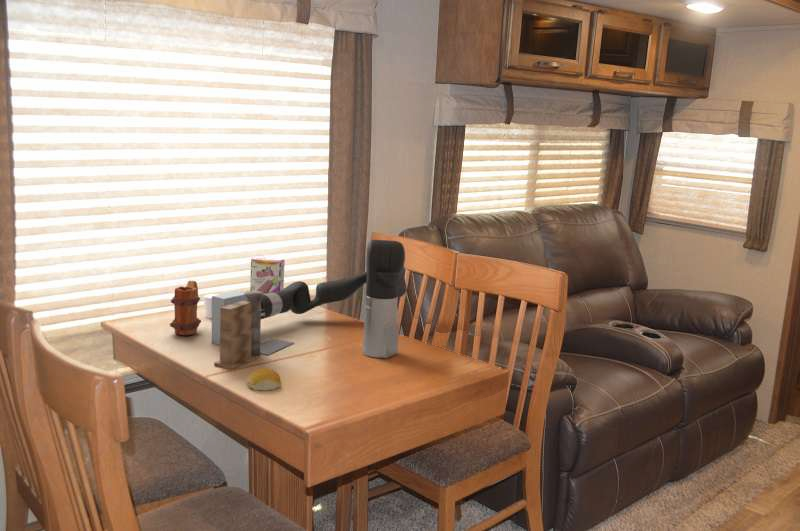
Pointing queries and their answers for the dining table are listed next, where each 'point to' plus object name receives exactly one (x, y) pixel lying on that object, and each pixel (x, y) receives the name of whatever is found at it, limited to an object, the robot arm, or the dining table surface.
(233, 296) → the light grey block
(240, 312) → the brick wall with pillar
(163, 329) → the dining table surface
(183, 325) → the mug
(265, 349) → the seat pad
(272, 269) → the candy bar box
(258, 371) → the bread roll
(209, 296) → the beige cup
